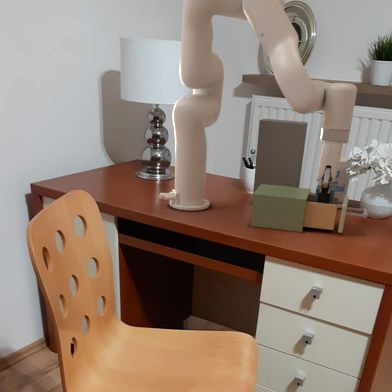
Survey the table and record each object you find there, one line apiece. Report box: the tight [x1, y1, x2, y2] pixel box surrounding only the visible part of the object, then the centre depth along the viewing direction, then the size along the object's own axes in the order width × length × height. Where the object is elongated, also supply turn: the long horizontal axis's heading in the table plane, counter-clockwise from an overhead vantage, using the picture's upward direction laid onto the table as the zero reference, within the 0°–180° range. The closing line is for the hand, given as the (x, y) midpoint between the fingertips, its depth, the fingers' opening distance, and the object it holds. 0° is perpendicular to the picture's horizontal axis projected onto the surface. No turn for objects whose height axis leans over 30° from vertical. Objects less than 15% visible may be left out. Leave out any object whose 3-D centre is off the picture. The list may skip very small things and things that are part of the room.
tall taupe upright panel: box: [251, 118, 309, 204], centre depth 163 cm, size 14×6×25 cm, turn 68°
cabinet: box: [250, 184, 312, 233], centre depth 150 cm, size 15×13×9 cm
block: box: [314, 184, 336, 204], centre depth 145 cm, size 5×5×5 cm
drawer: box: [303, 193, 369, 234], centre depth 147 cm, size 19×11×7 cm, turn 74°
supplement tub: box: [317, 156, 351, 209], centre depth 167 cm, size 10×10×15 cm
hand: (323, 204), depth 146 cm, fingers closed on block, 5 cm apart
